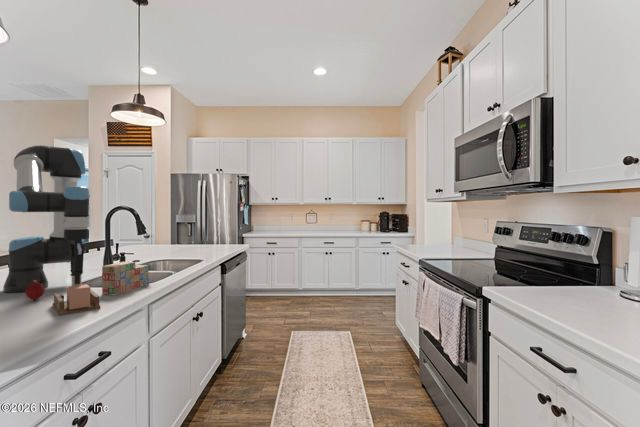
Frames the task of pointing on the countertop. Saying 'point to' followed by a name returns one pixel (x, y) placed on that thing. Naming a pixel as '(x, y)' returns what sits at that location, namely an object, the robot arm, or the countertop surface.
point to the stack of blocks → (123, 277)
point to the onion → (34, 290)
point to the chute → (63, 309)
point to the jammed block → (78, 296)
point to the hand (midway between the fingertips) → (76, 292)
